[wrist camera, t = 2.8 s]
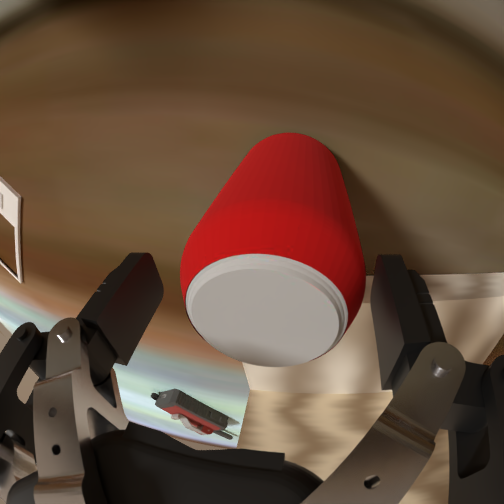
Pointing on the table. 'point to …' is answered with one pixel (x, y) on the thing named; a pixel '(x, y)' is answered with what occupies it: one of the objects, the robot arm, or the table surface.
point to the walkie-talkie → (192, 412)
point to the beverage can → (276, 257)
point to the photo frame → (12, 219)
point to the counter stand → (365, 385)
